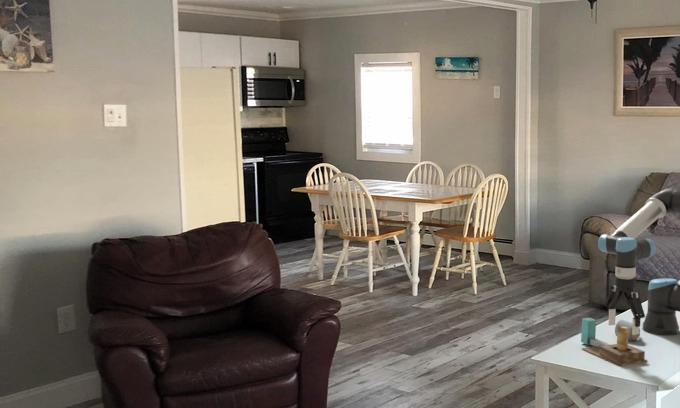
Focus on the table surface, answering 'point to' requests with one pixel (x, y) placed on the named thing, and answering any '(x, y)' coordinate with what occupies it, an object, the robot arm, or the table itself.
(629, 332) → the grey cylinder
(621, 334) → the dowel
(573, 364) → the table surface
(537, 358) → the table surface
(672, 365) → the table surface
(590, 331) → the teal l-shaped block
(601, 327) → the table surface
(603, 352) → the dock
